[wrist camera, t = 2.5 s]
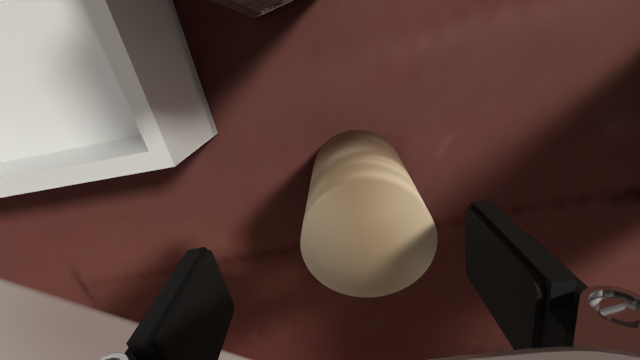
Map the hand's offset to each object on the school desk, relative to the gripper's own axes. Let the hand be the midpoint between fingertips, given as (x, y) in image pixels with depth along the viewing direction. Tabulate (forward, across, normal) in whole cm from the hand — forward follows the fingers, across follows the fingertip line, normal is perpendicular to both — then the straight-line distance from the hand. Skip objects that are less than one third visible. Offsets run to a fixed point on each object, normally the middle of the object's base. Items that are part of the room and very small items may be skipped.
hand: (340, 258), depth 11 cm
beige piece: (+7, -1, 0) cm, 7 cm away
